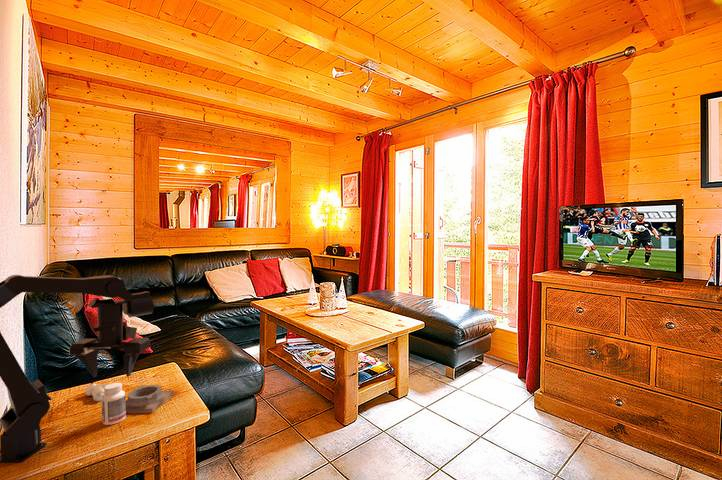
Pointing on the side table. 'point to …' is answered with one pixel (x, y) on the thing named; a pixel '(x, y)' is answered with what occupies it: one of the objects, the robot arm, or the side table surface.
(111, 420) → the pill bottle
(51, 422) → the side table surface
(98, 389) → the pipe fitting
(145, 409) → the collar base
